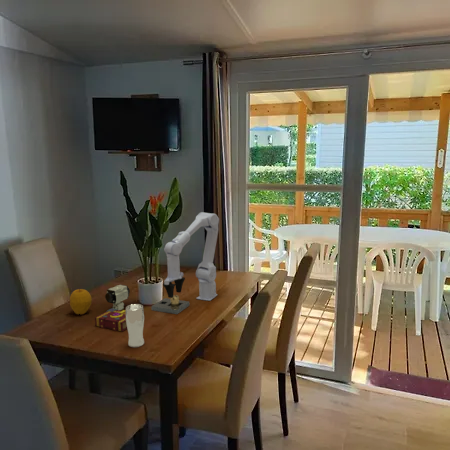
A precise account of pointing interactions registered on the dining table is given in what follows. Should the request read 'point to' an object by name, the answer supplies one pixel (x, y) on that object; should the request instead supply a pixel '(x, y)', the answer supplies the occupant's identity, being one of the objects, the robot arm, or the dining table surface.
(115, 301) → the white security camera
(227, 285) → the dining table surface
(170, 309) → the grey plate with cutouts
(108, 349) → the dining table surface
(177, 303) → the brass fitting
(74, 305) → the apple
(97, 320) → the decorative book
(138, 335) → the beer glass
